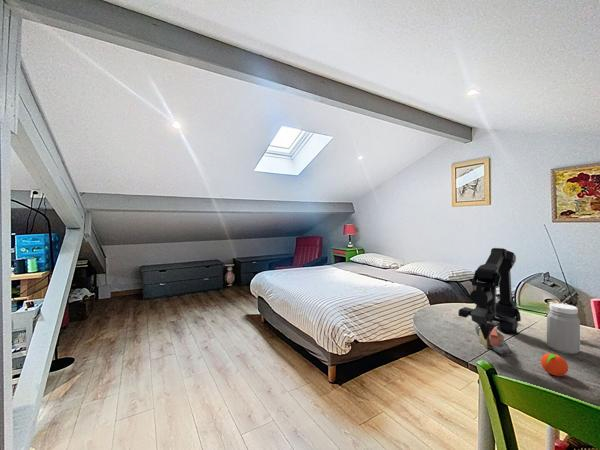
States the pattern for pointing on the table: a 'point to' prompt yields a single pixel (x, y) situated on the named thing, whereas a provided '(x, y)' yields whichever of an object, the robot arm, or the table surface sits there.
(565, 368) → the clementine
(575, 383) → the table surface
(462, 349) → the table surface
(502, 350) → the pipe valve
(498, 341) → the lever
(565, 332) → the jar
